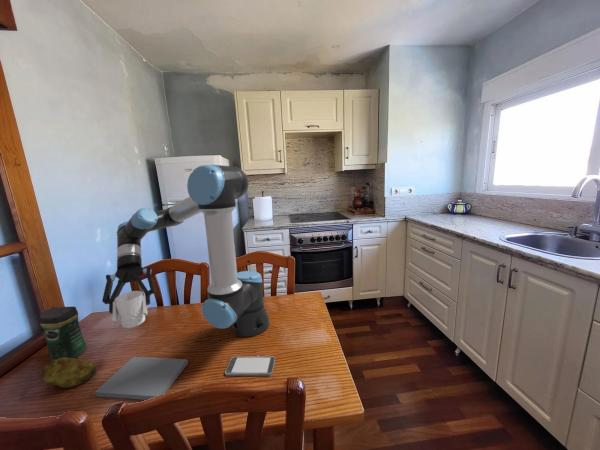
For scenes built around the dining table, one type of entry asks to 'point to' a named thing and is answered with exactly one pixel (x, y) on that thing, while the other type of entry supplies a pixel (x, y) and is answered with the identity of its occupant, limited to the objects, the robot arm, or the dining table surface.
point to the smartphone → (250, 366)
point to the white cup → (130, 308)
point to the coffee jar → (62, 332)
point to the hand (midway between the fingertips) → (130, 317)
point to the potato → (67, 372)
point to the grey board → (143, 378)
